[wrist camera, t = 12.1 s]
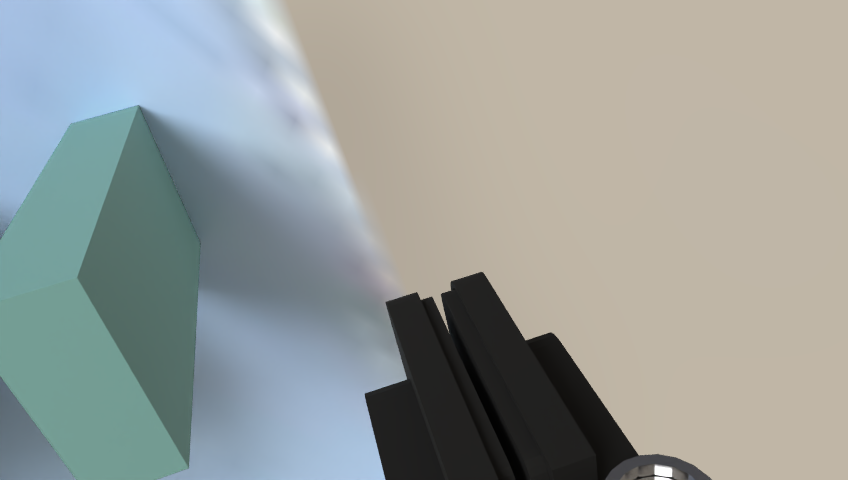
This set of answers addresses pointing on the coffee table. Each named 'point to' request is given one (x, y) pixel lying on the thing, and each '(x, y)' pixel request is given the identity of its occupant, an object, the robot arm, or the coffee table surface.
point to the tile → (103, 304)
